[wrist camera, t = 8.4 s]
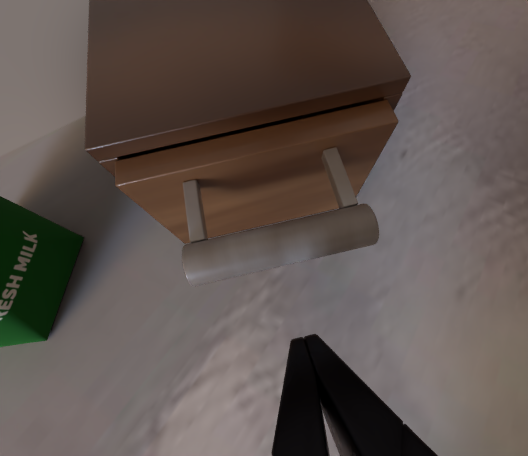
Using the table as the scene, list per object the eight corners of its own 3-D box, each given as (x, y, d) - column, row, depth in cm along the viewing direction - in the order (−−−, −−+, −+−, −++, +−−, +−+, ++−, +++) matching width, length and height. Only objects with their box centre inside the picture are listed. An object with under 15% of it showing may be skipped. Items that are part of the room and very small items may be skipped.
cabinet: (351, 194, 19) (412, 75, 10) (179, 234, 19) (83, 150, 10) (298, 55, 24) (306, -106, 15) (162, 85, 24) (90, -59, 15)
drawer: (375, 267, 16) (450, 219, 9) (192, 310, 16) (116, 297, 9) (298, 65, 22) (306, -61, 15) (167, 94, 22) (110, -18, 15)
